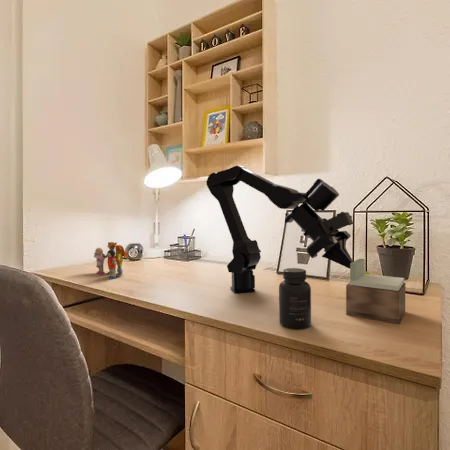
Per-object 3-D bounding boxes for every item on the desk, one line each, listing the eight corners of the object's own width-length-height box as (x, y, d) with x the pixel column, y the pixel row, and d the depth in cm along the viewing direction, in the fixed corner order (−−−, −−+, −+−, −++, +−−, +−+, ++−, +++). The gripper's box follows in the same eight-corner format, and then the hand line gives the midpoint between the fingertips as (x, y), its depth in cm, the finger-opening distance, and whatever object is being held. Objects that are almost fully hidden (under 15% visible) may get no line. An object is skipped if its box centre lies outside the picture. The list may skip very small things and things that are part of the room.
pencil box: (346, 314, 72) (346, 285, 71) (356, 304, 80) (357, 277, 79) (399, 324, 65) (399, 292, 65) (405, 311, 73) (405, 283, 73)
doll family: (92, 272, 129) (91, 242, 128) (114, 269, 135) (113, 240, 135) (112, 280, 113) (111, 245, 113) (136, 276, 120) (135, 243, 119)
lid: (349, 284, 71) (349, 263, 71) (360, 277, 79) (360, 258, 79) (398, 290, 65) (398, 267, 65) (404, 282, 73) (404, 261, 73)
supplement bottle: (275, 319, 69) (275, 267, 69) (304, 318, 70) (304, 266, 69) (284, 331, 62) (283, 273, 62) (316, 329, 63) (316, 272, 62)
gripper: (319, 200, 70) (371, 251, 64) (343, 202, 85) (386, 243, 79) (288, 233, 75) (333, 283, 69) (315, 229, 90) (354, 270, 84)
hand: (354, 268), depth 75 cm, fingers closed, pressing on lid
